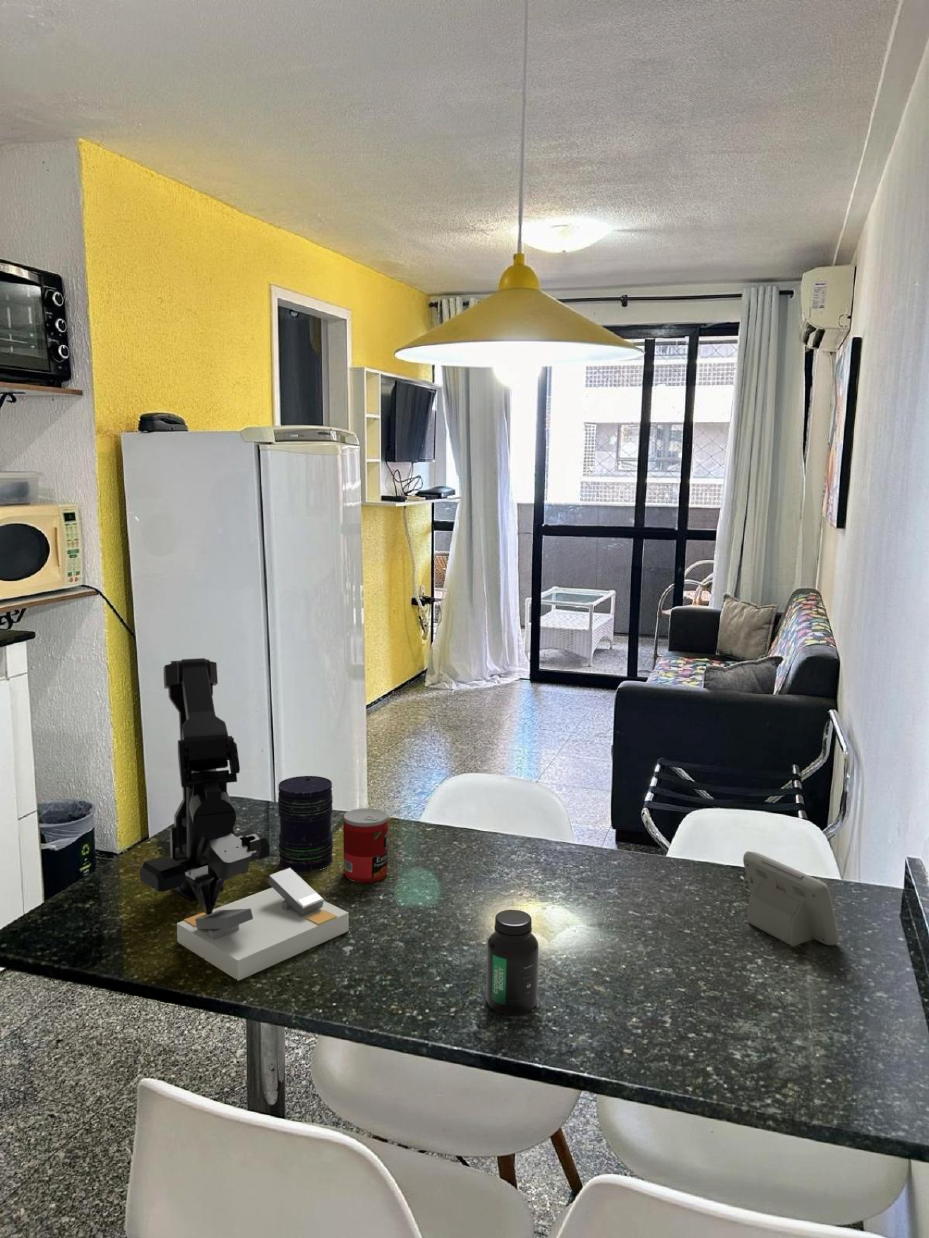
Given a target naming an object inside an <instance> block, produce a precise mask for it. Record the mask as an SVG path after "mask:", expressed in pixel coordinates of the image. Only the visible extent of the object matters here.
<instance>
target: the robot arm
mask: <svg viewBox="0 0 929 1238" xmlns="http://www.w3.org/2000/svg"><path fill="white" fill-rule="evenodd" d="M218 684H219V682H218V664H217V662H215V661H210V659H207V658H205V657H203V658H202V657H201V658H182V659H181V660H170V664H169V663H168V664H165V665H164V666H163V685H164V686H163V687H164V689H165V690H166V689H168V699H169V700H170V702H171V704H172V705H173V706H174V707H175V709H176V710H177V712H178V719H179V721H178V722H179V740H177V756H178V757H177V759H178V769H179V771H178V772H179V778H180V779H179V781H180V786H181V788H182V800H181V802H180V804H179V805H178V808H177V809H176V811H175V814H174V815H173V817H174V818H173V821H174V823H173V824H174V826H170V834H169V849H170V856H171V857H170V856H169V855H166V854H165V855H163V856H159V857H156V858H152V859H149V860H146V861H144V862H143V863H142V864H141V866H140V868H139V881H141V882H142V883H144V884H145V885H147V886H148V887H150V888H151V889H153V890H155V892H159V893H160V892H162V893H165V892H168V891H171V890H173V891H174V892H176V893H178V894H179V895H181V896H183V897H185V898H186V899H188V900H190V901H193V900H195V899H196V900H197V901H198V904H199V905H200V908H201V910H202V913H203V912H204V913H205V914H210V913H212V911H213V909H215V908H214V907H215V906H216V902H217V900H218V897H219V894H220V892H221V890H223V889H224V888H225V886H224V885H225V884H224V883H225V881H226V880H229V879H232V878H233V877H235V876H236V877H237V876H238V875H245V874H246V873H248V871H249V867H250V864H251V863H253V862H255V861H258V860H262V859H264V858H265V859H266V858H267V857H270V855H271V851H270V850H271V849H270V848H271V843H270V842H269V840H268V838H267V837H265V836H263V835H261V834H259V833H257V832H255V831H253V830H251V829H247V830H244V831H240V832H239V831H238V832H237V833H235V831H234V827H235V824H236V820H237V813H236V810H235V807H234V805H233V803H232V800H231V798H230V794H229V793H228V784H230V783H237V782H238V777H237V776H238V775H237V774H240V770H241V767H240V760H239V751H238V744H237V742H235V740H234V739H235V738H234V737H233V736H232V735H229V732H228V729H227V728H228V727H227V725H226V722H225V721H224V720H223V719H221V718H220V717H219V716H217V715H216V712H215V704H214V698H213V695H214V687H215V686H217V685H218ZM228 766H229V769H225V768H228ZM217 769H221V770H217ZM222 769H223V770H222Z"/></svg>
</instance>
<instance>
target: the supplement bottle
mask: <svg viewBox="0 0 929 1238" xmlns="http://www.w3.org/2000/svg"><path fill="white" fill-rule="evenodd" d="M494 917H495V918H494V932H492V934H491V935H490V936H489V937H488V939H487V943H486V944H487V945H486V983H485V984H486V985H485V986H486V989H485V992H486V998H485V999H486V1002H487V1004H488V1006H489V1007H490V1008H491V1010H493V1011H494V1012H496V1013H498V1014H502V1015H506V1016H519V1015H520V1016H521V1015H524V1014H525V1015H526V1014H527V1013H529V1012H530V1011H532V1010H533V1009H535V1007H536V1005H537V1003H538V991H539V989H538V988H539V987H538V986H539V983H538V982H539V953H540V952H539V949H540V948H539V942H538V939H537V937H536V936H535V935H534V934H533V933H532V931H533V928H532V927H533V926H532V921H533V919H532V917H531V915H530V914H529V913H527V912H525V911H523V910H519V909H506V910H501V911H500V912H498V913H496V915H495V916H494Z"/></svg>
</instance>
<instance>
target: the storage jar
mask: <svg viewBox="0 0 929 1238" xmlns="http://www.w3.org/2000/svg"><path fill="white" fill-rule="evenodd" d="M277 787H278V788H277V789H278V798H277V799H278V800H277V805H278V810H277V812H278V816H279V820H280V821H279V823H280V824H279V826H280V828H279V830H280V833H279V835H278V836H279V837H278V842H279V843H278V852H279V853H278V854H279V867H280V866H281V867H280V868H281V869H282V870H284V869H288V868H291V869H292V870H293V871H294V872H295V873H296V874H298V873H299V874H306V873H307V872H310V873H315V872H314V871H316V872H319V871H318V870H320V869H323V868H325V867H327V866H329V865H330V863H331V862H332V863H333V856H332V855H333V848H334V841H333V831H332V813H333V809H334V808H333V801H334V799H333V790H332V788H333V782H332V780H331V779H329V778H326V777H323V776H318V775H317V776H316V775H300V776H293V777H288V778H286V779H283V780H281V781H280V782H279V783H278V786H277ZM330 866H331V865H330ZM330 866H329V867H330ZM327 868H328V867H327ZM325 869H326V868H325ZM323 870H324V869H323ZM320 871H321V870H320ZM307 874H308V873H307Z"/></svg>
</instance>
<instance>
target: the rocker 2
mask: <svg viewBox="0 0 929 1238" xmlns="http://www.w3.org/2000/svg"><path fill="white" fill-rule="evenodd" d="M267 884H268V885H269V886H270V888H273V889H275V890H276V891H277V892H278V893H279V894H280V895H281V896H282V897H283V898H284V899H285V900H286V901H287V902H288V903H289V904H290V905H291V906H292V907H293V908H294V909H295V910H296V911H297V912H298V913H299V914H300V915H301V916H303V915H305V914H307V913H310V912H312V911H315V910H317V909H320V908H322V906H323V902H324V901H325V898H323V897H322V896H321V895H320V894H319V893H318V892H317V891H316V890H314V889H313V888H312V887H311V886H310V885H309V884H308V883H307V882H306V881H305V880H304V879H303V878H302V877H301V876H300V875H298V873H295V872H294V871H293V870H292V869H291V868H288V869H285V870H284V869H282V870H280V871H277V872H275V873H271V874H269V876H268V880H267Z"/></svg>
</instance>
